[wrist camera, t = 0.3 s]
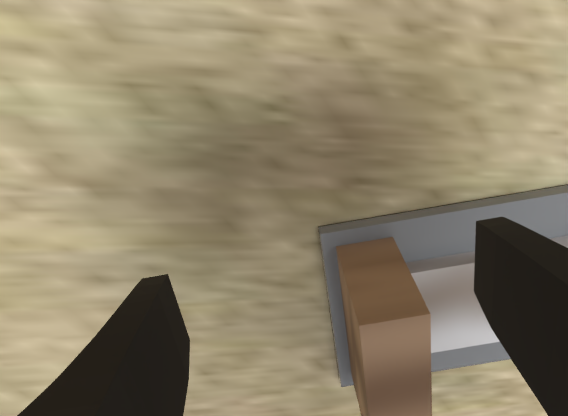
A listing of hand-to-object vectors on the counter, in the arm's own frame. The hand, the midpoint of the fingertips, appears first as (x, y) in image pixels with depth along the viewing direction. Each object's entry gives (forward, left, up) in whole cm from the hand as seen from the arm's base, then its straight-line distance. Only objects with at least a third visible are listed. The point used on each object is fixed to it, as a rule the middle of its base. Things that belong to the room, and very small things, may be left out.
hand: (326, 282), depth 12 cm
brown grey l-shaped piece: (-9, -6, -9) cm, 14 cm away
